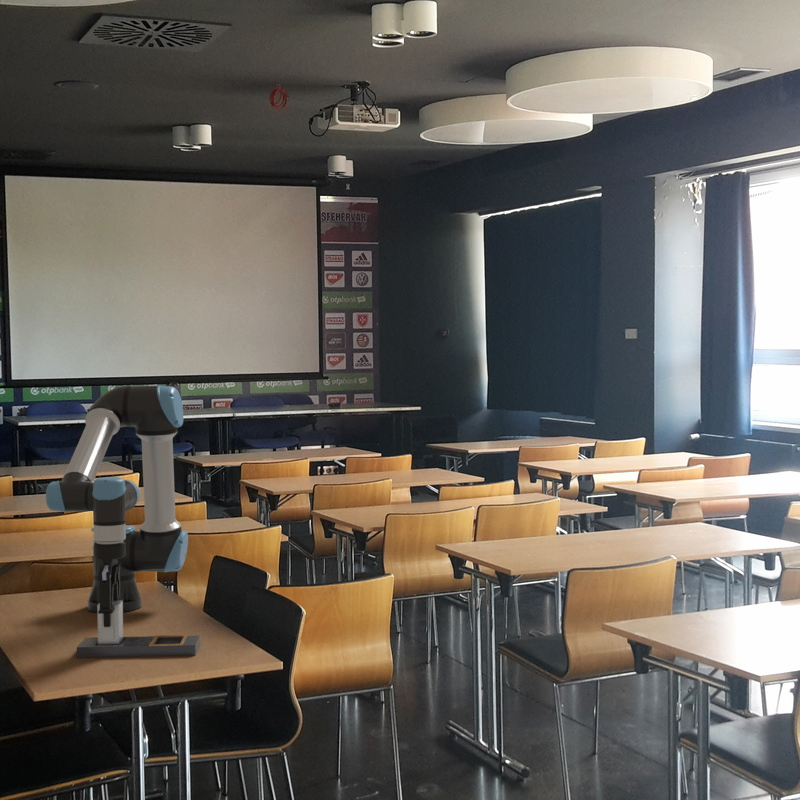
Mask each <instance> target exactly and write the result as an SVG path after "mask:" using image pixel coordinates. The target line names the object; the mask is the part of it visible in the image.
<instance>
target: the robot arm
mask: <svg viewBox="0 0 800 800" xmlns="http://www.w3.org/2000/svg"><path fill="white" fill-rule="evenodd" d="M184 415H185V414H184V406H183V401H182V398H181V395H180V393H179V391H178V389H177V388H175V387H174V386H169V385H161V384H160V385H159V384H158V385H121V386H117V387H116V386H115V387H114V388H112V389H109V390H108V391H106V392H105V393H104V394H102V395H101V396H100V397H98V398H97V400H96V401H95V402H93V404H92V405H91V407H90V408H89V409H88V411H87V414H86V416H85V419H84V420H85V421H84V423H85V427H84V430H83V432H82V434H81V437H80V438H79V441H78V443H77V445H76V447H75V450H74V451H73V454H72V456H71V459H70V461H69V463H68V465H67V468H66V471H65V473H64V475H63V476H62V479H61V480H57V481H51V482H50V483H49V484H48V485H47V486H46V489H45V502H46V506H47V508H48V509H49V510H50V511H52V512H64V513H66V512H68V513H69V512H71V513H72V512H93V527H91V529H90V531H91V532H92V533H93V546H92V552H93V554H92V555H93V584H92V586H91V590H90V593H89V596H88V599H87V610H88V611H89V612H92V613H97V614H98V613H99V614H102V640H114V612H113V600H123V613H125V611H126V612H131V611H135V610H137V609H140V608H141V607H143V606H142V605H143V603H142V602H143V601H142V595H141V592H140V590H139V587H138V584H137V581H136V572H140V573H141V572H145V573H146V572H149V573H150V572H154V573H155V572H160V573H162V572H163V573H167V572H178V571H180V570H181V569H182V568H183V566H184V563H185V562H186V557H187V553H188V546H189V536H188V531H186V530H182V524H181V522H180V521H178V520H177V519H176V500H175V499H176V497H175V471H174V469H175V468H174V448H173V447H174V446H173V445H174V443H173V438H174V437H175V436H176V435H177V434H178V430H179V429H178V428H180V427H182V426H183V424H184ZM124 427H126V428H127V427H129V428H135V435H136V436H137V437H138V438H140V440H141V453H142V454H141V455H142V456H141V458H142V479H143V483H142V484H143V502H144V503H143V504H144V522H143V523H142V524H141V525H140V526H139V530H136V527H135V525H126V524H127V523H126V512H127V511H129V510H131V509H133V508H134V507H135V506H136V505H137V504H138V502H139V501H140V497H141V493H140V492H141V491H140V488H139V486H138V485H137V484H136V483H135V482H134V481H132V480H128V479H124V478H123V477H120V476H105V477H104V476H103V477H97V478H96V476H97V474H98V472H99V469H100V467H101V465H102V462H103V461H104V457H105V455H106V453H107V450H108V447H109V445H110V443H111V440H112V438H113V436H114V435H116V434H118V432H119V430H120V428H124ZM99 603H100V609H99V611H98V612H97V605H98V604H99Z"/></svg>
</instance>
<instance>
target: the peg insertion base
mask: <svg viewBox="0 0 800 800" xmlns="http://www.w3.org/2000/svg"><path fill="white" fill-rule="evenodd" d="M200 647H201V635H200V634H199V635H188V634H169V635H168V634H166V635H162V634H161V635H157V634H156V635H152V636H123V643H122V644H121V645H98V636H97V637H96V636H95V637H92V636H91V637H85V638H84V639H83V640H82V641H81V642H80V643H79V644H78V645H77V646H76V659H77V658H78V659H80V658H81V659H82V658H84V659H85V658H87V659H89V658H128V657H131V658H133V657H177V656H178V657H179V656H180V657H181V656H196V655H197V653H198V651H199V648H200Z"/></svg>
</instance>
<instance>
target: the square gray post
mask: <svg viewBox="0 0 800 800" xmlns="http://www.w3.org/2000/svg"><path fill="white" fill-rule="evenodd" d="M99 609H100V603H99V604H98V605H97V612H96V613H97V637H98V645H121V644H122V643H123V637H124V612H123V600H113V612H114V640H102V614H99V613H98V611H99Z"/></svg>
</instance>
